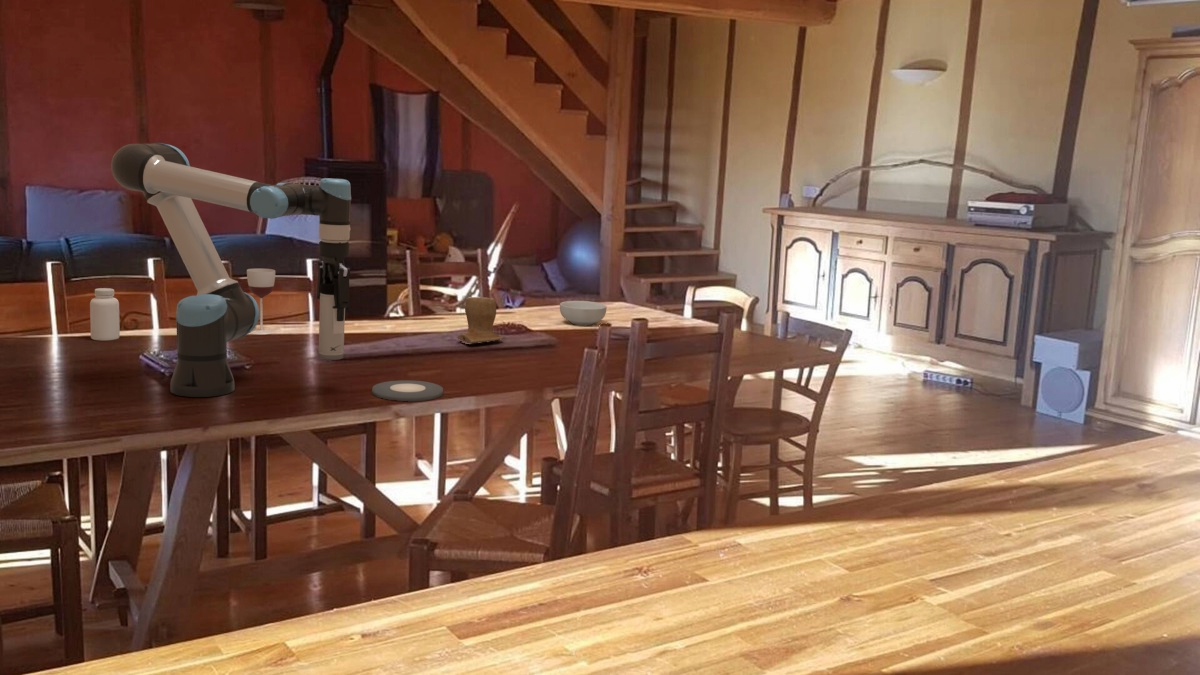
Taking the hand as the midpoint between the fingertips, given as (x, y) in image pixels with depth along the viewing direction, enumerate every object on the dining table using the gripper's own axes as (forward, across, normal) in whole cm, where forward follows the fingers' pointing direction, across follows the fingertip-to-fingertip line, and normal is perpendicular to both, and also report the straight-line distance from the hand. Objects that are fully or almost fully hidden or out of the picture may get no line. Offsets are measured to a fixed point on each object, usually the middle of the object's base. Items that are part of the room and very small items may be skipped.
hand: (332, 330), depth 279 cm
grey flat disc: (+15, -12, -16) cm, 25 cm away
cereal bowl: (+15, +50, -122) cm, 133 cm away
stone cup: (+15, +36, -68) cm, 79 cm away
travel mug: (+7, 0, 0) cm, 7 cm away
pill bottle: (+17, +86, +32) cm, 94 cm away
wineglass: (+17, +78, -14) cm, 81 cm away
